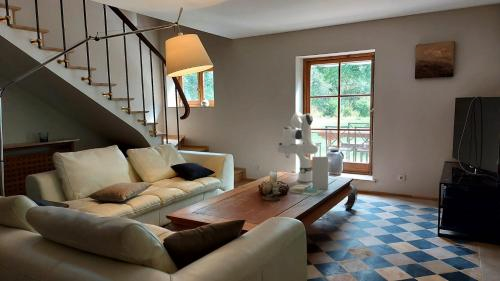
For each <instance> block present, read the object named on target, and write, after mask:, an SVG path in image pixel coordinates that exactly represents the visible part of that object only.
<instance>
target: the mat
mask: <svg viewBox="0 0 500 281" xmlns="http://www.w3.org/2000/svg"><path fill="white" fill-rule="evenodd" d="M323 192H325V189H317V192H315V193H308V192H304V193H302V195H304V196H305V195H306V196H312V197H315V196H317V195H319V194H321V193H323Z"/></svg>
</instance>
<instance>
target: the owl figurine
mask: <svg viewBox="0 0 500 281" xmlns="http://www.w3.org/2000/svg"><path fill="white" fill-rule="evenodd" d="M278 185H279V184H278V183H277V182H274V181H273V180H272V179H270V180H267V182H265V184H264V185H263V187H262V192H263V193H264V195H263V196H262V198H261V199H262V200H263V201H267V202H278V201H280V200H281V198H280V197H279V195H280V194H281V191H280V189H279V186H278Z"/></svg>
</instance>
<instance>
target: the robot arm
mask: <svg viewBox="0 0 500 281" xmlns="http://www.w3.org/2000/svg"><path fill="white" fill-rule="evenodd" d="M313 118H314V117H313V115H312V114H311V113H305V114H302V113H301V112H295V113H294V114H293V115H292V117H291V119H290V126H288V125H287V126H284V127H283V129H282V141H280V142H277V144H278V146H277V152H278V153H283V154H284V155H285V158H288V159H289V158H290V156H291V154H295V155H296V156H297V158H298V160H299V171H298V177H297V181H299V182H306V183H307V182H312V165H311V164H312V160H311V159H310V157H308V156H306V155H313V154H317V153H318V149H319V147H318V145H317V144H315V143H314V142H313V140H312V128H311V125H312V123H313V121H314V120H313ZM291 126H292V127H293V128H295V129H292V127H291ZM293 140H300V141H301V142H302V143H293Z"/></svg>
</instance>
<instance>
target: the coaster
mask: <svg viewBox="0 0 500 281" xmlns="http://www.w3.org/2000/svg"><path fill="white" fill-rule="evenodd" d="M317 190H318V189H317V188H312V187H311V186H310V187H308V188H306V189H305V192H308V193H315V192H317Z"/></svg>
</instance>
